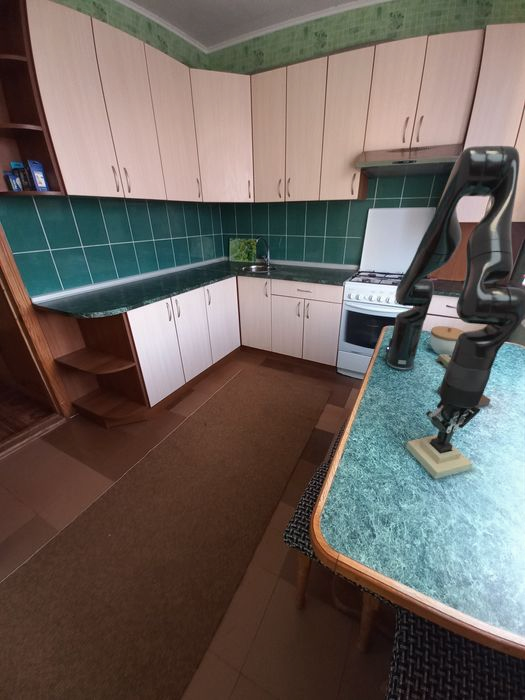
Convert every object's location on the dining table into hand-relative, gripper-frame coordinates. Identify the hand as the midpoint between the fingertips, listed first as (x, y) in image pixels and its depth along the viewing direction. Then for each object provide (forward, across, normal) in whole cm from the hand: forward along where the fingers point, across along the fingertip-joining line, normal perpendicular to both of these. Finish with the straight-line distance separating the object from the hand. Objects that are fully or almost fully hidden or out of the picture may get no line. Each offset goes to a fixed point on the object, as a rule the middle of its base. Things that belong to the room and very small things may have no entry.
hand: (442, 440), depth 69 cm
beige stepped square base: (+6, 0, 0) cm, 6 cm away
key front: (+2, 0, 0) cm, 2 cm away
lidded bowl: (+6, -45, -46) cm, 65 cm away
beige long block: (+6, -39, -32) cm, 51 cm away
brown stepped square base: (+6, -26, -18) cm, 32 cm away
